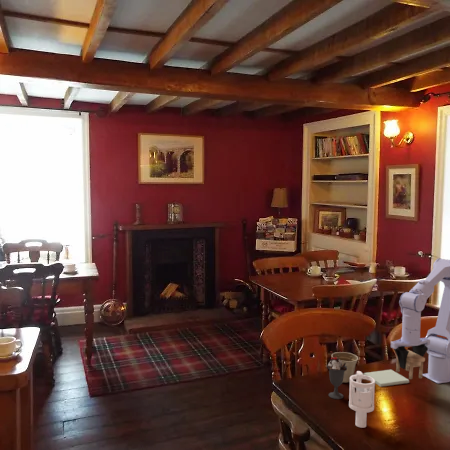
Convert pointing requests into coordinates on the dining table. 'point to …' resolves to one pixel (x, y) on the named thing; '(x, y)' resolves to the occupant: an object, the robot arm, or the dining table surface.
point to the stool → (412, 363)
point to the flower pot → (347, 363)
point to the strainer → (361, 397)
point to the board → (387, 378)
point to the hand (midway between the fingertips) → (409, 366)
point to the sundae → (336, 375)
